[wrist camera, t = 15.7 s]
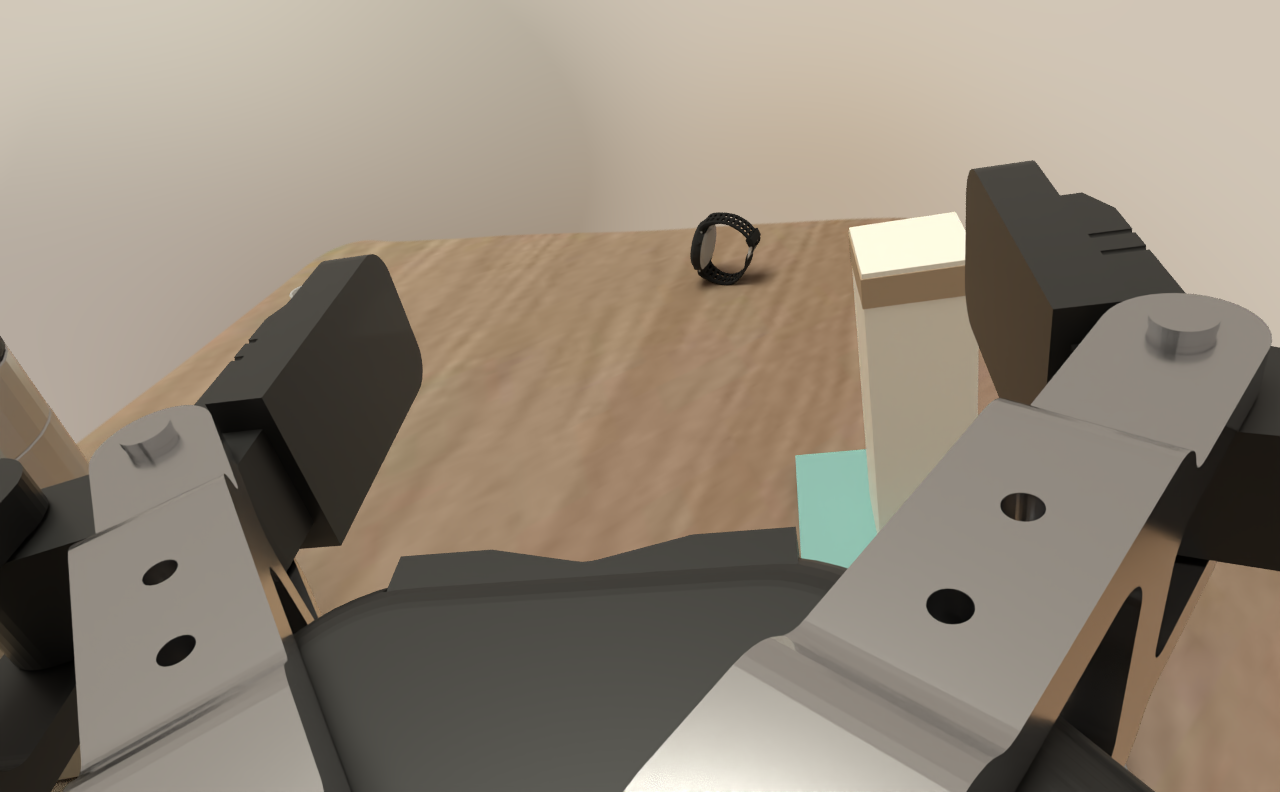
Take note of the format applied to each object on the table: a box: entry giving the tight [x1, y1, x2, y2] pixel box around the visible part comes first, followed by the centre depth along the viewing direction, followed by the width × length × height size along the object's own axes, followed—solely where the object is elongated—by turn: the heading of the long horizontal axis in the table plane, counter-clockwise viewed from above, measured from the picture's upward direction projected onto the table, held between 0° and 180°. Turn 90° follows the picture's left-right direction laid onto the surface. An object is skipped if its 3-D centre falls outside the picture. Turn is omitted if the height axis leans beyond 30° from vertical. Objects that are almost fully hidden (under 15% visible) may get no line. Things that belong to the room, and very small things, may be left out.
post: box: [848, 212, 978, 534], centre depth 37 cm, size 4×4×14 cm
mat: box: [796, 449, 877, 568], centre depth 41 cm, size 11×11×1 cm
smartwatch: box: [691, 213, 761, 285], centre depth 63 cm, size 4×5×5 cm
